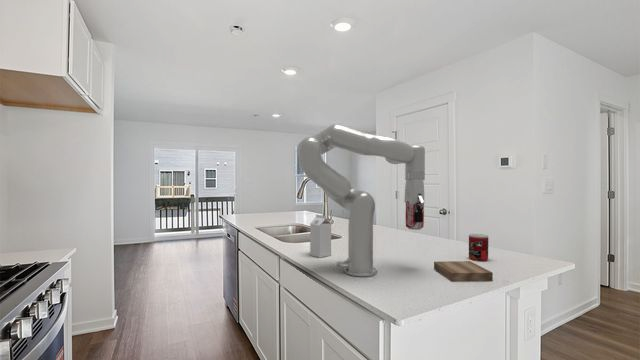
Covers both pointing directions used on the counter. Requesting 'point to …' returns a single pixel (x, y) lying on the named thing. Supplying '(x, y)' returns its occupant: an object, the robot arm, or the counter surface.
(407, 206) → the soda can
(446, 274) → the walnut base
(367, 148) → the robot arm
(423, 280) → the counter surface
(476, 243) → the canned food
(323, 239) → the milk carton
